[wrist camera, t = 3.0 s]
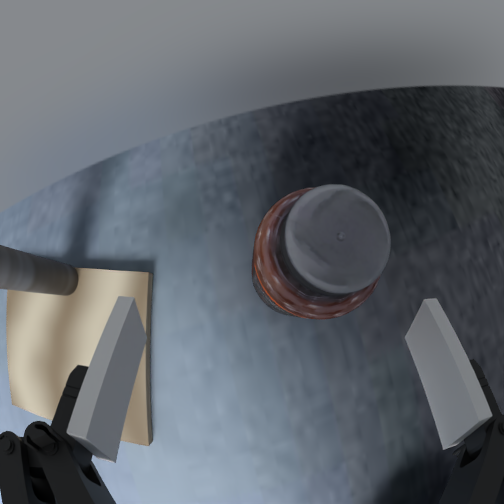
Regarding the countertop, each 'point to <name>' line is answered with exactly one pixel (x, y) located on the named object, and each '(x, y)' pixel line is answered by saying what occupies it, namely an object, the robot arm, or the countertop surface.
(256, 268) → the supplement bottle
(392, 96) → the countertop surface
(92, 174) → the countertop surface
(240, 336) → the countertop surface
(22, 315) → the headphone stand
